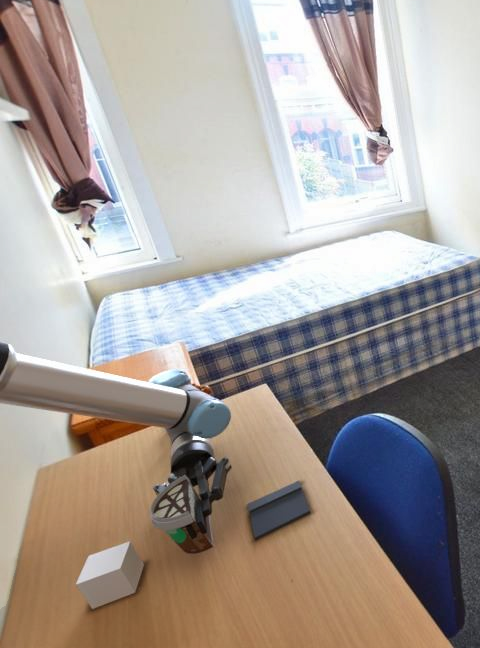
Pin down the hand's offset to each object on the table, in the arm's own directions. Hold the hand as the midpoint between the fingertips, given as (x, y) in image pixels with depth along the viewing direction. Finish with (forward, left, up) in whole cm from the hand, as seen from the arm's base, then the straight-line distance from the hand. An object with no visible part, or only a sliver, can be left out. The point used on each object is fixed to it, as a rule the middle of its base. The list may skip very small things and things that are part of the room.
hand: (196, 530), depth 80 cm
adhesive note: (-14, +6, -8) cm, 17 cm away
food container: (-2, +6, -6) cm, 9 cm away
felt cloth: (+12, +6, -8) cm, 15 cm away
